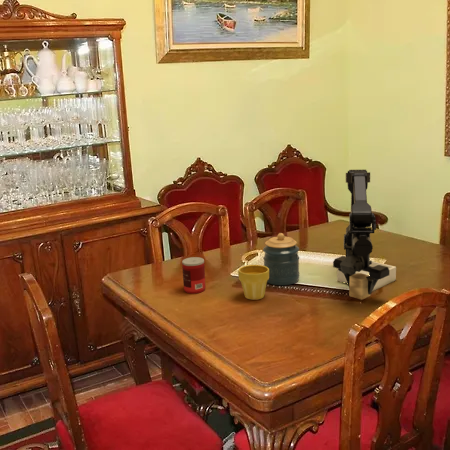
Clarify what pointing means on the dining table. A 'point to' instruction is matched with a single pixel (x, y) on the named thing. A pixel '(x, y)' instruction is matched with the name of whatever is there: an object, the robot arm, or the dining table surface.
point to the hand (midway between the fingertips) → (360, 291)
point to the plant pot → (254, 280)
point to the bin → (380, 282)
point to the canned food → (193, 275)
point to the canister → (282, 260)
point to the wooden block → (358, 286)
